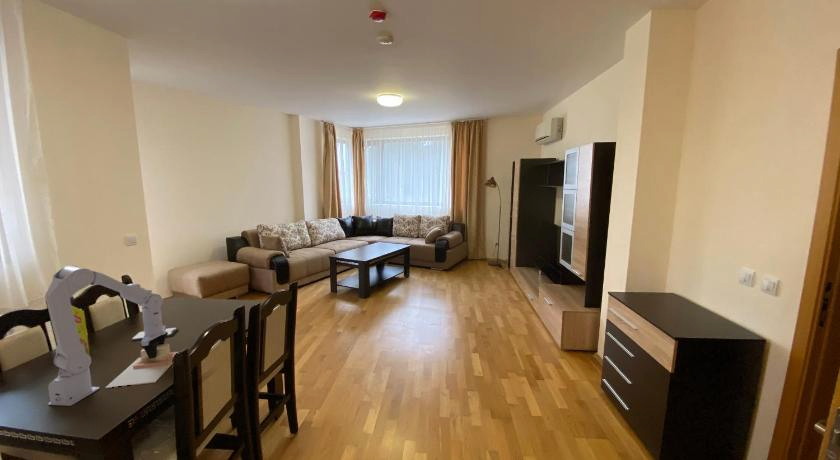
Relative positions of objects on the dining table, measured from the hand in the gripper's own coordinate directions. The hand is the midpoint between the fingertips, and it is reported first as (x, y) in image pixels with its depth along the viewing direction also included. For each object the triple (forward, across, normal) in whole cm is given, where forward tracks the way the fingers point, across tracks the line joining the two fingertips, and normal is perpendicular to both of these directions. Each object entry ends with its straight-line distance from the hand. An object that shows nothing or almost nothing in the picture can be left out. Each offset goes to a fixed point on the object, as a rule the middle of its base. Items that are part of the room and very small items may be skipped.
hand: (156, 354), depth 133 cm
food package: (+4, +16, +34) cm, 38 cm away
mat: (+3, -5, +1) cm, 6 cm away
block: (+3, 0, 0) cm, 3 cm away
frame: (+3, 0, 0) cm, 3 cm away
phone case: (+4, +28, +13) cm, 31 cm away
